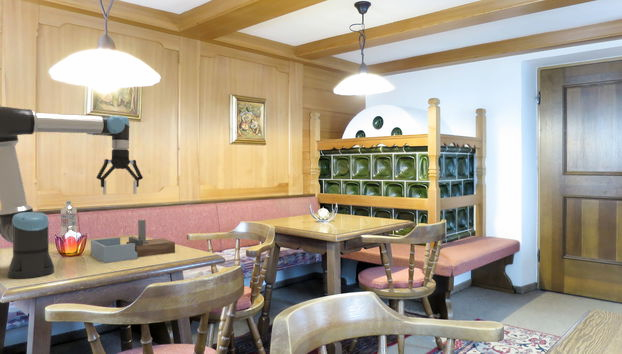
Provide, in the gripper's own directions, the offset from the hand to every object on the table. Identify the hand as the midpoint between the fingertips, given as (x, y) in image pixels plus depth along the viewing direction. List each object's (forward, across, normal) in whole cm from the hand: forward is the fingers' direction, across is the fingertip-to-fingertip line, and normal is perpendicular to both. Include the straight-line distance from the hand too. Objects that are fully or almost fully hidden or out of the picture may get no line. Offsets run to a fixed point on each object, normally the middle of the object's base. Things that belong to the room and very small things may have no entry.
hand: (120, 194), depth 211 cm
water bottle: (+29, +18, -19) cm, 39 cm away
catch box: (+29, +4, +4) cm, 29 cm away
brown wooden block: (+28, -13, +4) cm, 32 cm away
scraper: (+23, -8, +4) cm, 25 cm away
